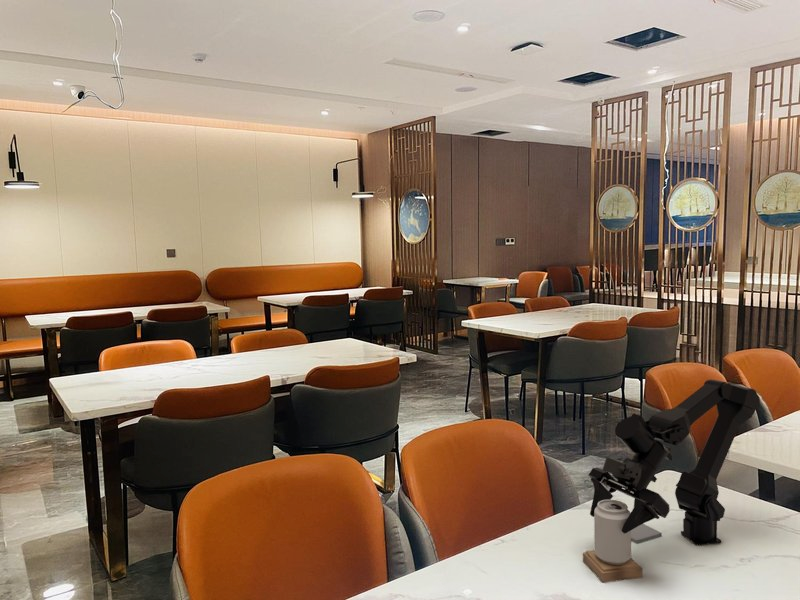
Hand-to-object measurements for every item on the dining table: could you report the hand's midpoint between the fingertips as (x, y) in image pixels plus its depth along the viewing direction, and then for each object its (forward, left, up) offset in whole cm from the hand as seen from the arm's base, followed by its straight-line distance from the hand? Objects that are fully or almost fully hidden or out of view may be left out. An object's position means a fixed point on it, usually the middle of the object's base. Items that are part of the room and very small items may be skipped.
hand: (606, 523), depth 132 cm
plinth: (-1, 0, -11) cm, 11 cm away
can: (-2, 0, -8) cm, 8 cm away
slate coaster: (-15, -14, -11) cm, 24 cm away
